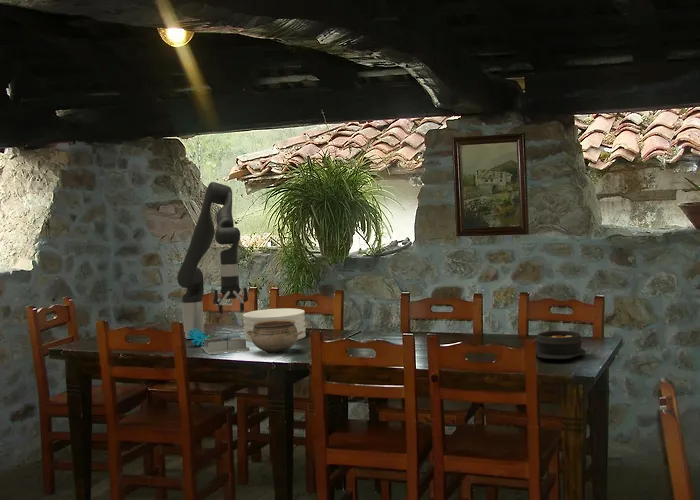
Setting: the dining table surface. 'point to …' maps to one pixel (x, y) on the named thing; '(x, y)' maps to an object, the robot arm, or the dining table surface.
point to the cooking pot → (274, 335)
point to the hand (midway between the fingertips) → (231, 312)
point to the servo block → (233, 336)
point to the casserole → (559, 345)
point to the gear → (197, 336)
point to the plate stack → (274, 315)
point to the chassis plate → (224, 345)
